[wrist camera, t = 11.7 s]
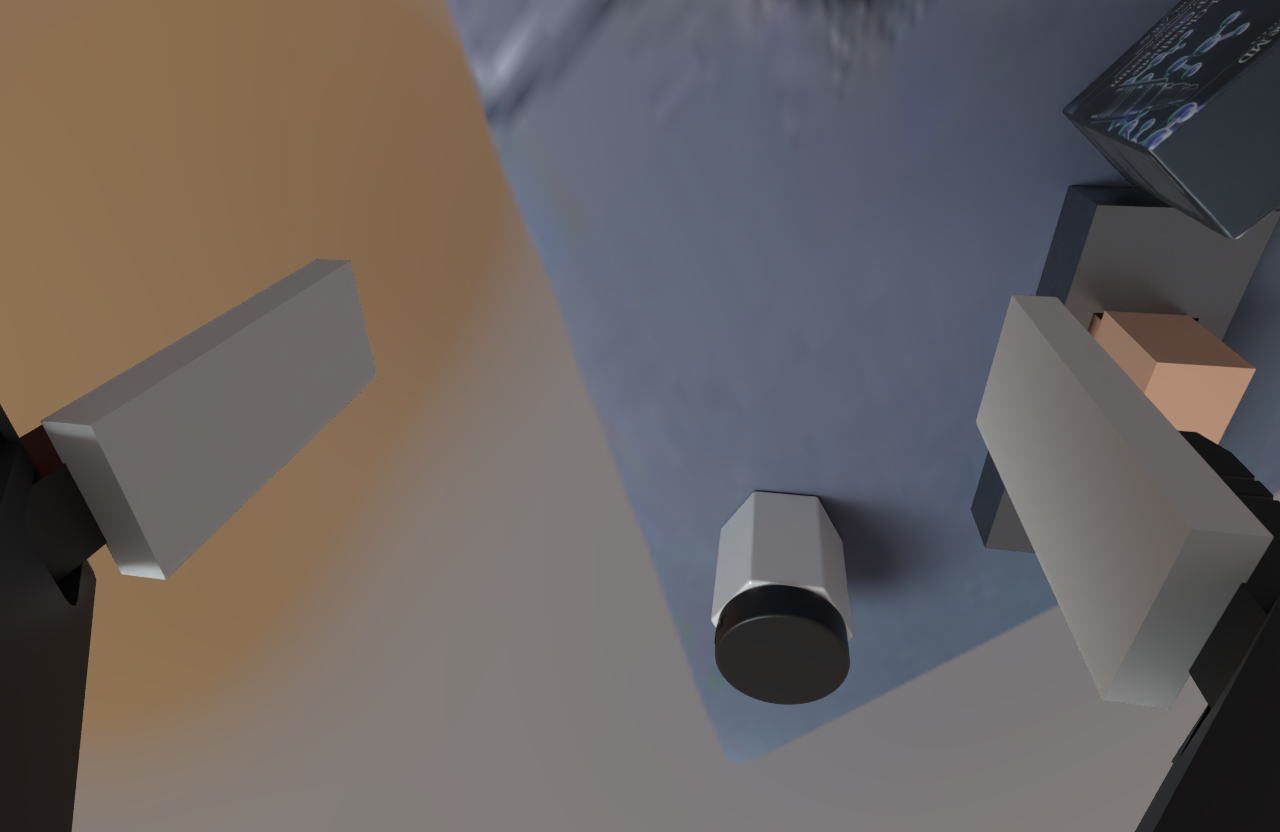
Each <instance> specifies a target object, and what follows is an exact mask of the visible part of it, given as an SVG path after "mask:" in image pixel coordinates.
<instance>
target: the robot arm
mask: <svg viewBox="0 0 1280 832" xmlns="http://www.w3.org/2000/svg"><path fill="white" fill-rule="evenodd" d="M375 377H377V374H376V370H375V365H374V361H373V357H372V352H371V348H370V344H369V340H368V335H367V330H366V326H365V322H364V317H363V313H362V309H361V304H360V300H359V295H358V291H357V287H356V282H355V278H354V273H353V269H352V266H351V261H349V260H328V259H316V260H314V261H313V262H311V263H309V264H308V265H306V266H304V267H302V268H301V269H299V270H297V271H296V272H294V273H292V274H291V275H289V276H287V277H285V278H284V279H282V280H280V281H279V282H277V283H275V284H273V285H272V286H270V287H269V288H267V289H265V290H263V291H261V292H260V293H258V294H256V295H255V296H253V297H251V298H249V299H248V300H246V301H244V302H243V303H241V304H239V305H237V306H236V307H234V308H232V309H231V310H229V311H227V312H226V313H224V314H222V315H220V316H219V317H217V318H215V319H214V320H212V321H210V322H208V323H207V324H205V325H203V326H202V327H200V328H198V329H197V330H195V331H193V332H191V333H190V334H188V335H186V336H185V337H183V338H181V339H180V340H178V341H176V342H174V343H173V344H171V345H169V346H167V347H166V348H164V349H162V350H161V351H159V352H157V353H155V354H154V355H152V356H150V357H149V358H147V359H145V360H144V361H142V362H140V363H139V364H137V365H135V366H133V367H132V368H130V369H128V370H127V371H125V372H123V373H121V374H120V375H118V376H117V377H114V378H113V379H111V380H109V381H108V382H106V383H104V384H103V385H101V386H99V387H98V388H96V389H94V390H92V391H91V392H89V393H87V394H86V395H84V396H82V397H80V398H79V399H77V400H75V401H74V402H72V403H70V404H68V405H67V406H65V407H63V408H62V409H60V410H58V411H57V412H55V413H53V414H51V415H50V416H48V417H46V418H44V419H43V420H41V423H42V425H41V426H39V427H37V428H36V429H34V430H32V431H31V432H29V433H27V434H25V435H24V436H22V437H20V438H19V437H18V435H17V433H16V431H15V430H14V428H13V426H12V424H11V423H10V421H9V419H8V417H7V415H6V414H5V412H4V410H3V408H2V406H1V405H0V832H71V830H72V820H73V810H74V800H75V790H76V780H77V769H78V759H79V749H80V739H81V729H82V718H83V709H84V699H85V689H86V677H87V667H88V657H89V647H90V638H91V627H92V618H93V606H94V596H95V587H96V578H95V575H94V571H93V570H92V568H91V566H90V564H89V562H88V561H87V558H89V557H90V556H91V555H92V554H93V553H95V552H96V551H97V550H99V548H101V547H102V546H103V545H105V544H106V545H107V547H108V549H109V551H110V553H111V555H112V557H113V559H114V560H115V562H116V564H117V566H118V568H119V570H120V572H121V574H125V575H134V576H141V577H149V578H156V579H164V580H166V579H167V578H168V577H169V576H170V575H171V574H172V573H173V572H175V570H177V569H178V568H179V567H180V566H181V565H182V564H183V563H184V562H185V561H186V560H187V559H188V558H189V557H190V556H191V555H192V554H193V553H194V552H195V551H196V550H197V549H198V548H199V547H200V546H201V545H202V544H204V542H206V540H207V539H209V538H210V537H211V536H212V535H213V534H214V533H215V532H216V531H217V530H218V529H219V528H220V527H221V526H222V525H223V524H224V523H225V522H226V521H227V520H228V519H229V518H230V517H231V516H233V515H234V514H235V513H236V512H237V511H238V510H239V509H240V508H241V507H242V506H243V505H244V504H245V503H246V502H247V501H248V500H249V499H250V498H251V497H252V496H253V495H254V494H255V493H256V492H257V491H258V490H259V489H260V488H261V487H263V486H264V485H265V484H266V483H267V482H268V481H269V480H270V479H271V478H272V477H273V476H274V475H275V474H276V473H277V472H278V471H279V470H280V469H281V468H282V467H283V466H284V465H285V464H286V463H287V462H288V461H290V460H291V459H292V458H293V457H294V455H296V454H297V453H298V452H299V451H300V450H301V449H302V448H303V447H304V446H305V445H306V444H307V443H308V442H309V441H310V440H311V439H312V438H313V437H314V436H315V435H316V434H317V433H318V432H320V431H321V430H322V429H323V428H324V427H325V426H326V425H327V424H328V423H329V422H330V421H331V420H332V419H333V418H334V417H335V416H336V415H337V414H338V413H339V412H340V411H341V410H342V409H343V408H344V407H345V406H346V405H348V403H350V401H352V400H353V399H354V398H355V397H356V396H357V395H358V394H359V393H360V392H361V391H362V390H363V389H364V388H365V387H366V386H367V385H368V384H369V383H370V382H371V381H372V380H373V379H374V378H375ZM976 424H977V426H978V428H979V431H980V433H981V435H982V437H983V439H984V442H985V444H986V446H987V448H988V450H989V452H990V455H991V457H992V459H993V461H994V463H995V466H996V468H997V470H998V472H999V474H1000V477H1001V479H1002V481H1003V483H1004V485H1005V488H1006V490H1007V492H1008V494H1009V496H1010V498H1011V501H1012V503H1013V505H1014V507H1015V509H1016V512H1017V514H1018V516H1019V518H1020V520H1021V523H1022V525H1023V527H1024V529H1025V531H1026V533H1027V536H1028V538H1029V540H1030V542H1031V544H1032V547H1033V549H1034V551H1035V553H1036V555H1037V558H1038V560H1039V562H1040V564H1041V566H1042V568H1043V571H1044V573H1045V575H1046V577H1047V579H1048V582H1049V584H1050V586H1051V588H1052V590H1053V593H1054V595H1055V597H1056V599H1057V601H1058V604H1059V606H1060V608H1061V610H1062V612H1063V614H1064V617H1065V619H1066V621H1067V623H1068V625H1069V628H1070V630H1071V632H1072V634H1073V636H1074V639H1075V641H1076V643H1077V645H1078V647H1079V649H1080V652H1081V654H1082V656H1083V658H1084V660H1085V662H1086V665H1087V667H1088V669H1089V671H1090V674H1091V676H1092V678H1093V680H1094V682H1095V685H1096V687H1097V689H1098V691H1099V693H1100V695H1101V698H1102V700H1106V701H1114V702H1122V703H1130V704H1138V705H1145V706H1153V707H1161V708H1168V709H1170V708H1171V706H1172V705H1173V703H1174V701H1175V700H1176V698H1177V696H1178V695H1179V693H1180V692H1181V690H1182V688H1183V687H1184V685H1185V683H1186V682H1187V680H1188V678H1189V677H1190V675H1191V676H1192V678H1193V680H1194V681H1195V683H1196V685H1197V686H1198V688H1199V690H1200V691H1201V693H1202V695H1203V696H1204V698H1205V700H1206V701H1207V703H1208V706H1207V707H1206V709H1205V710H1204V712H1203V713H1202V715H1201V716H1200V718H1199V720H1198V721H1197V723H1196V724H1195V726H1194V727H1193V729H1192V730H1191V732H1190V734H1189V735H1188V737H1187V738H1186V740H1185V741H1184V743H1183V745H1182V746H1181V747H1180V749H1179V750H1178V752H1177V754H1176V755H1175V757H1174V758H1173V760H1172V762H1173V765H1172V767H1171V769H1170V770H1169V772H1168V774H1167V776H1166V777H1165V779H1164V781H1163V783H1162V785H1161V786H1160V788H1159V790H1158V792H1157V793H1156V795H1155V797H1154V799H1153V800H1152V802H1151V804H1150V806H1149V807H1148V809H1147V811H1146V813H1145V815H1144V816H1143V818H1142V820H1141V822H1140V823H1139V825H1138V827H1137V829H1136V831H1135V832H1280V502H1279V501H1276V500H1273V495H1272V494H1271V493H1270V492H1269V491H1268V490H1267V489H1266V487H1265V486H1264V485H1263V484H1262V483H1261V482H1260V481H1254V477H1255V476H1254V475H1253V474H1252V473H1251V472H1250V471H1249V470H1248V469H1247V468H1246V467H1245V466H1244V465H1243V464H1242V463H1241V462H1240V461H1239V460H1238V459H1237V458H1236V457H1235V456H1234V455H1233V454H1232V453H1231V452H1229V451H1227V450H1226V449H1224V448H1222V447H1221V446H1219V445H1217V444H1216V443H1214V442H1212V441H1211V440H1209V439H1207V438H1206V437H1204V436H1202V435H1201V434H1199V433H1197V432H1190V431H1177V429H1176V428H1175V427H1174V426H1173V425H1172V424H1171V423H1170V422H1169V421H1168V419H1167V418H1166V417H1165V416H1164V415H1163V414H1162V413H1161V412H1160V411H1159V410H1158V408H1157V407H1156V406H1155V405H1154V404H1153V403H1152V402H1151V401H1150V400H1149V398H1148V397H1147V396H1146V395H1145V394H1144V393H1143V392H1142V391H1141V390H1140V389H1139V387H1138V386H1137V385H1136V384H1135V383H1134V382H1133V381H1132V380H1131V379H1130V378H1129V376H1128V375H1127V374H1126V373H1125V372H1124V371H1123V370H1122V369H1121V368H1120V366H1119V365H1118V364H1117V363H1116V362H1115V361H1114V360H1113V359H1112V358H1111V357H1110V355H1109V354H1108V353H1107V352H1106V351H1105V350H1104V349H1103V348H1102V347H1101V345H1100V344H1099V343H1098V342H1097V341H1096V340H1095V339H1094V338H1093V337H1092V336H1091V334H1090V333H1089V332H1088V331H1087V330H1086V329H1085V328H1084V327H1083V326H1082V325H1081V323H1080V322H1079V321H1078V320H1077V319H1076V318H1075V317H1074V316H1073V315H1072V313H1071V312H1070V311H1069V310H1068V309H1067V308H1066V307H1065V306H1064V305H1063V304H1062V302H1061V301H1060V300H1059V299H1058V298H1057V297H1045V296H1026V295H1012V297H1011V300H1010V304H1009V307H1008V311H1007V314H1006V318H1005V321H1004V325H1003V328H1002V332H1001V335H1000V339H999V342H998V346H997V349H996V353H995V356H994V360H993V363H992V367H991V370H990V374H989V377H988V381H987V384H986V388H985V391H984V395H983V398H982V402H981V405H980V409H979V412H978V416H977V420H976Z"/></svg>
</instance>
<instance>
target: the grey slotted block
mask: <svg viewBox="0 0 1280 832" xmlns="http://www.w3.org/2000/svg"><path fill="white" fill-rule="evenodd" d="M1279 217H1280V210H1278V209H1275V210H1274V211H1272V212H1271V213H1270V214H1268V215H1267V216H1266V217H1265V218H1263V219H1262V220H1260V221H1259V222H1258V223H1257V224H1255V225H1254V226H1253V227H1251V228H1250V229H1249V230H1248V231H1247V232H1245V233H1244V234H1243V235H1242V236H1241V237H1240V238H1238V239H1228V238H1226V237H1224V236H1223V235H1221V234H1219V233H1217V232H1215V231H1213V230H1211V229H1209V228H1208V227H1206V226H1205V225H1203V224H1201V223H1200V222H1198V221H1196V220H1195V219H1193V218H1191V217H1189V216H1187V215H1185V214H1184V213H1183V212H1181V211H1179V210H1177V209H1175V208H1174V207H1172V206H1170V205H1168V204H1166V203H1165V202H1163V201H1161V200H1160V199H1158V198H1156V197H1154V196H1153V195H1151V194H1149V193H1148V192H1146V191H1144V190H1143V189H1141V188H1126V187H1093V186H1069V187H1068V191H1067V194H1066V197H1065V200H1064V204H1063V207H1062V210H1061V214H1060V217H1059V220H1058V224H1057V227H1056V230H1055V233H1054V237H1053V240H1052V243H1051V247H1050V250H1049V253H1048V257H1047V260H1046V263H1045V266H1044V270H1043V273H1042V276H1041V280H1040V283H1039V286H1038V289H1037V293H1036V296H1045V297H1057V298H1058V299H1059V300H1060V301H1061V302H1062V304H1063V305H1064V306H1065V307H1066V308H1067V309H1068V310H1069V311H1070V312H1071V313H1072V315H1073V316H1074V317H1075V318H1076V319H1077V320H1078V321H1079V322H1080V323H1081V325H1082V326H1083V327H1084V328H1085V329H1086V330H1088V328H1089V325H1090V322H1091V319H1092V316H1093V313H1104V312H1105V311H1118V312H1136V313H1154V314H1172V315H1189V316H1190V317H1192V318H1193V319H1194V320H1195V321H1197V322H1198V323H1199V324H1200V325H1202V326H1203V327H1204V328H1205V329H1207V330H1208V331H1209V332H1211V333H1212V334H1213V335H1214V336H1216V337H1217V338H1218V339H1219V340H1221V341H1222V339H1223V337H1224V335H1225V333H1226V331H1227V329H1228V326H1229V324H1230V322H1231V320H1232V318H1233V316H1234V314H1235V311H1236V309H1237V307H1238V305H1239V303H1240V301H1241V299H1242V296H1243V294H1244V292H1245V290H1246V288H1247V286H1248V284H1249V281H1250V279H1251V277H1252V275H1253V273H1254V271H1255V268H1256V266H1257V264H1258V262H1259V260H1260V258H1261V256H1262V253H1263V251H1264V249H1265V247H1266V245H1267V243H1268V241H1269V238H1270V236H1271V234H1272V232H1273V230H1274V228H1275V226H1276V223H1277V221H1278V219H1279ZM971 511H972V514H973V517H974V519H975V522H976V525H977V527H978V530H979V533H980V536H981V538H982V541H983V544H984V546H985V548H991V549H1000V550H1010V551H1020V552H1030V553H1035V551H1034V549H1033V547H1032V544H1031V542H1030V540H1029V538H1028V536H1027V533H1026V531H1025V529H1024V527H1023V525H1022V523H1021V520H1020V518H1019V516H1018V514H1017V512H1016V509H1015V507H1014V505H1013V503H1012V501H1011V498H1010V496H1009V494H1008V492H1007V490H1006V488H1005V485H1004V483H1003V481H1002V479H1001V477H1000V474H999V472H998V470H997V468H996V466H995V463H994V461H993V459H992V457H991V455H990V452H989V451H988V454H987V458H986V461H985V464H984V468H983V471H982V474H981V477H980V481H979V484H978V487H977V491H976V494H975V497H974V500H973V504H972V507H971Z"/></svg>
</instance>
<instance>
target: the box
mask: <svg viewBox="0 0 1280 832" xmlns="http://www.w3.org/2000/svg"><path fill="white" fill-rule="evenodd" d="M1063 113H1064V114H1065V116H1066V117H1067V118H1068V119H1069V120H1070V121H1071V122H1072V123H1073V124H1074V125H1075V126H1076V127H1077V128H1078V129H1079V130H1080V131H1081V133H1083V134H1084V135H1085V136H1086V137H1087V139H1088V140H1089V141H1090V142H1091V143H1092V144H1093V145H1094V146H1095V147H1096V148H1097V149H1098V150H1099V151H1100V152H1101V153H1102V155H1103V156H1104V157H1105V158H1106V159H1107V160H1108V161H1109V162H1110V163H1111V164H1112V165H1113V166H1114V167H1115V168H1116V169H1117V170H1118V172H1119V173H1120V174H1121V175H1122V176H1123V177H1124V178H1125V179H1126V181H1129V182H1130V183H1132V184H1134V185H1136V186H1137V187H1139V188H1141V189H1143V190H1144V191H1146V192H1148V193H1149V194H1151V195H1153V196H1154V197H1156V198H1158V199H1160V200H1161V201H1163V202H1165V203H1166V204H1168V205H1170V206H1172V207H1174V208H1175V209H1177V210H1179V211H1181V212H1183V213H1184V214H1185V215H1187V216H1189V217H1191V218H1193V219H1195V220H1196V221H1198V222H1200V223H1201V224H1203V225H1205V226H1206V227H1208V228H1209V229H1211V230H1213V231H1215V232H1217V233H1219V234H1221V235H1223V236H1224V237H1226V238H1228V239H1238V238H1240V237H1241V236H1242V235H1243V234H1244V233H1245V232H1247V231H1248V230H1249V229H1250V228H1251V227H1253V226H1254V225H1255V224H1257V223H1258V222H1259V221H1260V220H1262V219H1263V218H1265V217H1266V216H1267V215H1268V214H1270V213H1271V212H1272V211H1274V210H1275V209H1276V208H1278V207H1279V206H1280V0H1182V1H1180V2H1179V3H1178V4H1177V5H1176V6H1175V7H1174V8H1173V9H1172V10H1171V11H1170V12H1168V13H1167V14H1166V15H1165V16H1164V17H1163V18H1162V19H1161V20H1160V21H1159V22H1158V23H1157V24H1156V25H1155V26H1154V27H1152V28H1151V29H1150V30H1149V31H1148V32H1147V33H1146V34H1145V35H1144V36H1143V37H1142V38H1141V39H1140V40H1139V41H1138V42H1137V43H1135V44H1134V45H1133V46H1132V47H1131V48H1130V49H1129V50H1128V51H1127V52H1126V53H1124V54H1123V55H1122V56H1121V57H1120V58H1119V59H1118V60H1117V61H1116V62H1115V63H1114V64H1113V65H1111V66H1110V67H1109V68H1108V69H1107V70H1106V71H1105V72H1104V73H1103V74H1102V75H1101V76H1099V77H1098V78H1097V79H1096V80H1095V81H1094V82H1093V83H1091V84H1090V86H1088V87H1087V88H1086V89H1085V90H1084V91H1083V92H1082V93H1081V94H1080V95H1079V96H1077V97H1076V98H1075V99H1074V100H1073V101H1072V102H1071V103H1070V104H1068V105H1067V106H1066V107H1065V108H1064V110H1063Z"/></svg>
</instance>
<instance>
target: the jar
mask: <svg viewBox="0 0 1280 832" xmlns="http://www.w3.org/2000/svg"><path fill="white" fill-rule="evenodd" d="M711 621H712V623H713V624H714V625H715V627H716V633H715V659H716V664H717V666H718V669H719V671H720V672H721V674H722V675H723V677H724V678H725V679H726V680H727V681H728V682H729V683H730V684H731V685H732V686H733V687H734V688H736V689H737V690H739V691H740V692H742V693H744V694H746V695H748V696H750V697H752V698H755V699H757V700H761V701H764V702H769V703H774V704H785V705H792V704H803V703H809V702H812V701H816V700H819V699H821V698H824V697H826V696H827V695H829V694H831V693H832V692H834V691H835V690H836V689H837V688H838V687H839V686H840V685H841V684H842V683H843V682H844V680H845V678H846V677H847V674H848V671H849V667H850V657H849V648H848V641H849V640H850V639H852V637H853V631H852V622H851V613H850V605H849V596H848V587H847V579H846V570H845V561H844V553H843V544H842V540H841V538H840V536H839V534H838V533H837V531H836V529H835V527H834V526H833V524H832V522H831V520H830V518H829V517H828V515H827V513H826V511H825V510H824V508H823V506H822V504H821V502H820V501H819V499H818V498H817V497H815V496H803V495H792V494H781V493H769V492H758V491H755V492H753V493H752V494H751V495H750V496H749V497H748V499H747V500H746V501H745V502H744V503H743V504H742V506H741V507H740V508H739V509H738V510H737V511H736V512H735V514H734V515H733V516H732V517H731V518H730V519H729V520H728V522H727V523H726V524H725V525H724V526H723V527H722V529H721V532H720V542H719V551H718V561H717V570H716V579H715V589H714V598H713V607H712V617H711Z"/></svg>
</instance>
